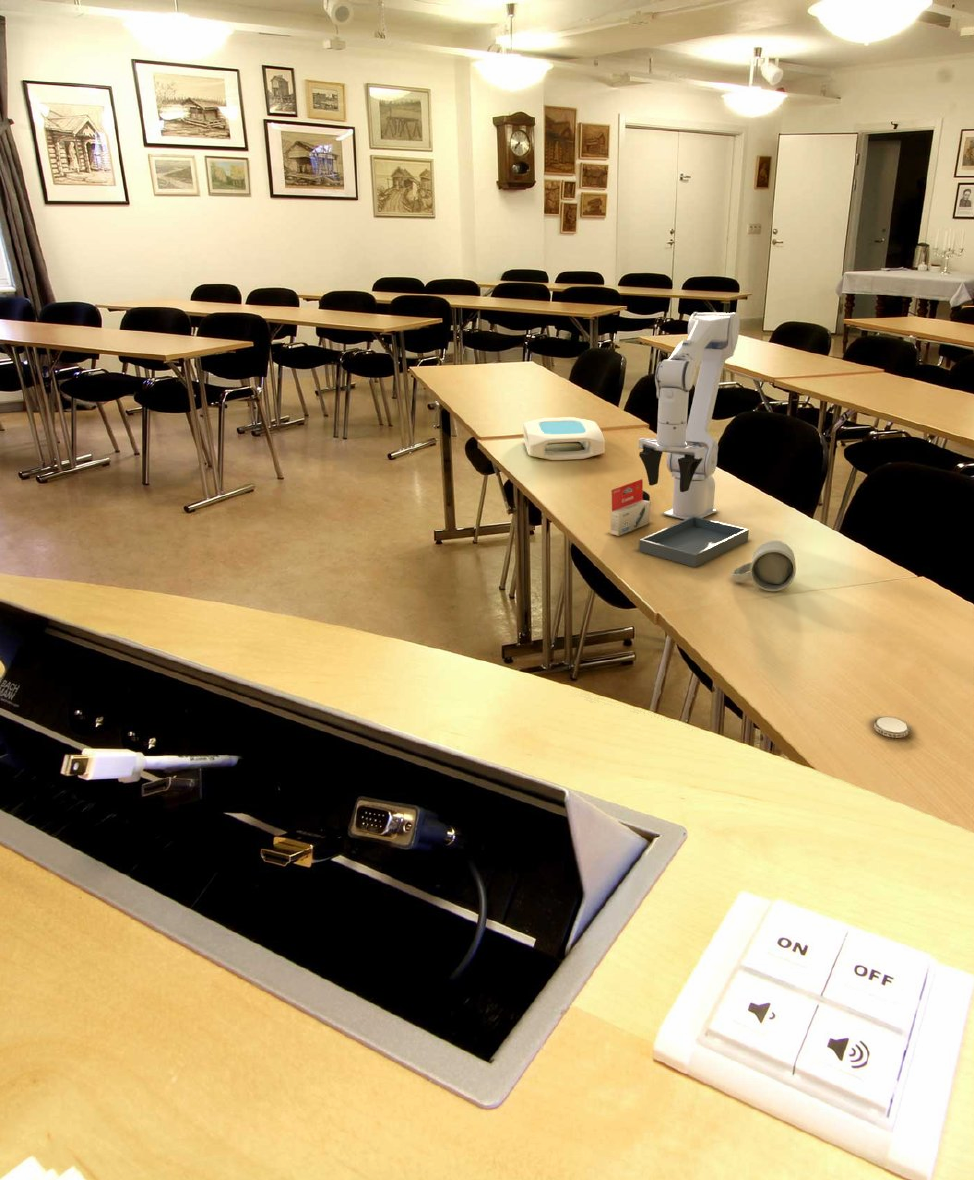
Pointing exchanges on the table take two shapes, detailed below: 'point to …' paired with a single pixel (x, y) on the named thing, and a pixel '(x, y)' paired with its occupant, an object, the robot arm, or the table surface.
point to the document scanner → (563, 437)
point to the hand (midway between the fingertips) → (668, 487)
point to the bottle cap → (891, 727)
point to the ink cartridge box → (629, 509)
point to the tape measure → (645, 494)
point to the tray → (693, 541)
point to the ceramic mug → (769, 567)
